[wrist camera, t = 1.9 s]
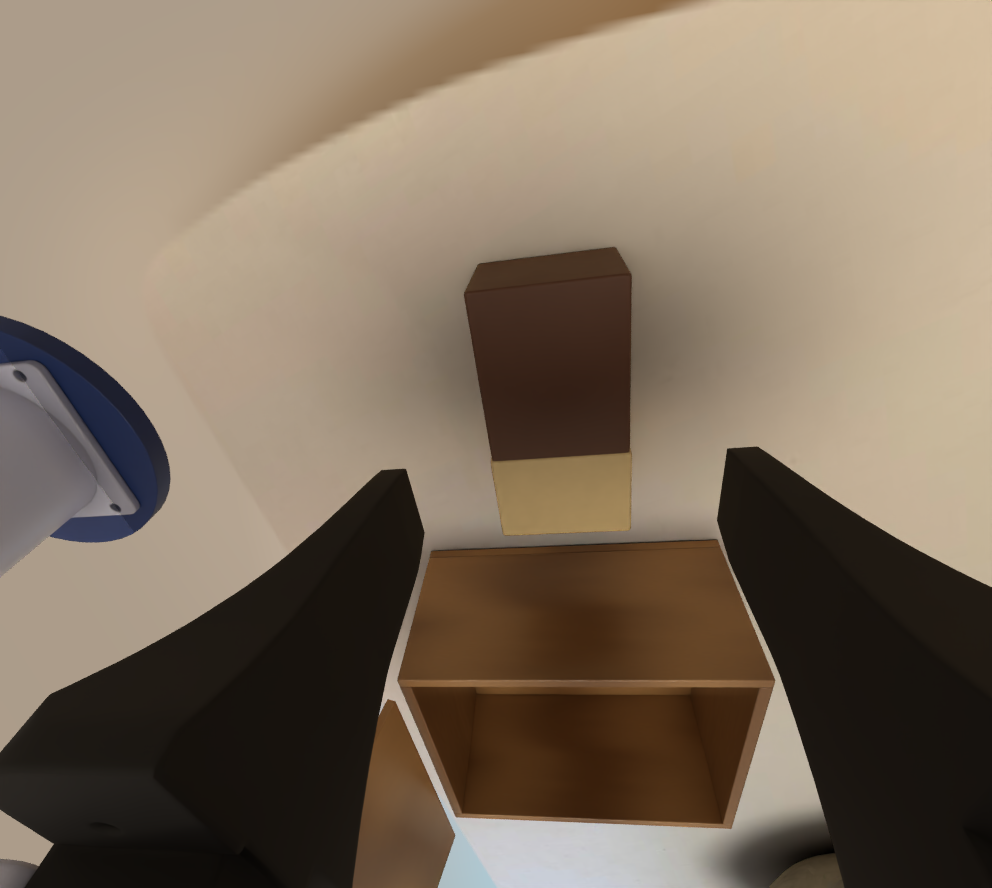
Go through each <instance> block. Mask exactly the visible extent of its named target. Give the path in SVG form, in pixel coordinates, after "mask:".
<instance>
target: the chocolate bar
mask: <svg viewBox="0 0 992 888" xmlns="http://www.w3.org/2000/svg"><path fill="white" fill-rule="evenodd" d="M631 295H632V275H631V273H630V271H629V269H628V268H627V266H626V264H625V262H624V261H623V259H622V257H621V256H620V254H619V252H618V250H617V249H616V248H615V247H612V248H604V249H596V250H588V251H579V252H571V253H563V254H555V255H547V256H539V257H531V258H523V259H515V260H507V261H499V262H491V263H483V264H479V265H478V266H477V268H476V270H475V272H474V274H473V276H472V278H471V280H470V282H469V284H468V286H467V288H466V290H465V292H464V298H465V304H466V310H467V316H468V322H469V327H470V333H471V339H472V345H473V351H474V357H475V363H476V368H477V374H478V380H479V386H480V392H481V398H482V404H483V409H484V415H485V421H486V427H487V433H488V439H489V445H490V450H491V456H492V458H491V467H492V473H493V479H494V485H495V491H496V496H497V502H498V508H499V514H500V519H501V525H502V531H503V534H504V535H505V536H510V535H534V534H557V533H581V532H604V531H628V530H630V528H631V475H632V453H631V449H630V387H631Z"/></svg>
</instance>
